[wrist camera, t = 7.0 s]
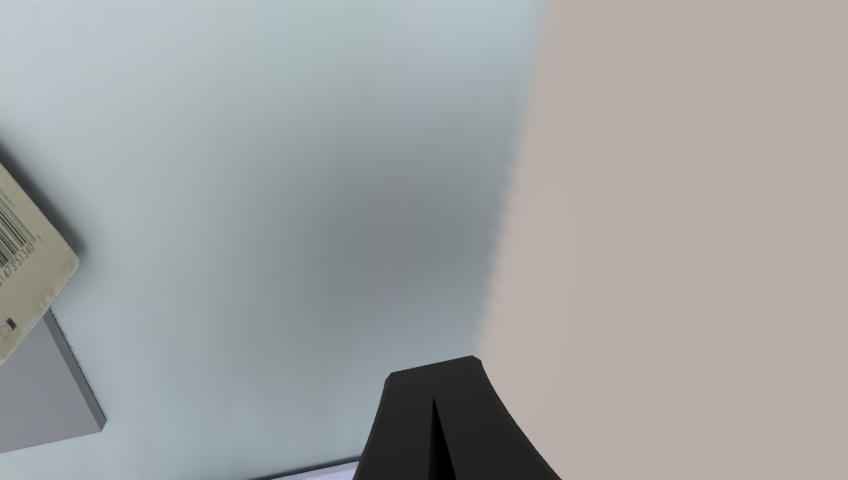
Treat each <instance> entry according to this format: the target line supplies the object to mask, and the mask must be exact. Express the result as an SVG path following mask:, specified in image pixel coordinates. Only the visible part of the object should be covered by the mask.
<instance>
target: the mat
mask: <svg viewBox="0 0 848 480" xmlns="http://www.w3.org/2000/svg"><path fill="white" fill-rule="evenodd" d="M105 423H106V419H105V417H104V415H103V413H102V411H101V409H100V408H99V406H98V404H97V402H96V400H95V398H94V396H93V394H92V392H91V390H90V388H89V386H88V384H87V382H86V380H85V378H84V376H83V374H82V372H81V370H80V368H79V366H78V364H77V362H76V360H75V358H74V356H73V355H72V353H71V351H70V349H69V347H68V345H67V343H66V341H65V339H64V337H63V335H62V333H61V331H60V329H59V327H58V325H57V323H56V321H55V319H54V317H53V315H52V313H51V311H50V309H48V310H47V311H46V313H45V314H44V315H43V317H42V318H41V319H40V320H39V322H38V323H37V324H36V326H35V327H34V328H33V329H32V331H31V332H30V333H29V334H28V336H27V337H26V338H25V340H24V341H23V342H22V343H21V344H20V346H19V347H18V348H17V349H16V351H15V352H14V353H13V354H12V355H11V356H10V358H9V359H8V360H7V361H6V362H5V363H4V364H3V365H1V366H0V453H4V452H9V451H14V450H18V449H23V448H27V447H32V446H37V445H41V444H46V443H51V442H55V441H60V440H65V439H69V438H74V437H79V436H83V435H88V434H93V433H97V432H101V431H102V429H103V427H104V425H105Z"/></svg>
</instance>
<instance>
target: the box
mask: <svg viewBox="0 0 848 480" xmlns="http://www.w3.org/2000/svg"><path fill="white" fill-rule="evenodd" d="M78 266H79V259H78V257H77V256H76V254H75V253H74V252H73V251H72V249H71V248H70V247H69V245H68V244H67V243H66V241H65V240H64V239H63V237H62V236H61V235H60V234H59V232H58V231H57V230H56V229H55V228H54V227H53V225H52V224H51V223H50V222H49V221H48V220H47V218H46V217H45V216H44V214H43V213H42V212H41V211H40V210H39V208H38V207H37V206H36V205H35V204H34V202H33V201H32V200H31V199H30V198H29V196H28V195H27V194H26V193H25V192H24V190H23V189H22V188H21V187H20V185H19V184H18V183H17V182H16V181H15V179H14V178H13V177H12V176H11V175H10V173H9V172H8V171H7V170H6V169H5V168H4V166H3V165H2V164H1V163H0V366H1V365H3V364H4V363H5V362H6V361H7V360H8V359H9V358H10V356H11V355H12V354H13V353H14V352H15V351H16V349H17V348H18V347H19V346H20V344H21V343H22V342H23V341H24V340H25V338H26V337H27V336H28V334H29V333H30V332H31V331H32V329H33V328H34V327H35V326H36V324H37V323H38V322H39V320H40V319H41V318H42V317H43V315H44V314H45V313H46V311H47V310H48V309H49V308H50V306H51V305H52V304H53V302H54V301H55V299H56V298H57V297H58V295H59V294H60V292H61V291H62V290H63V289H64V287H65V286H66V285H67V283H68V282H69V280H70V278H71V277H72V276H73V274H74V273H75V271H76V270H77V268H78Z"/></svg>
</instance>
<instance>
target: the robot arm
mask: <svg viewBox="0 0 848 480" xmlns="http://www.w3.org/2000/svg"><path fill="white" fill-rule="evenodd" d="M272 480H561V478H560V477H559V476H558V475H557V474H556V473H555V472H554V470H553V469H552V468H551V467H550V466H549V465H548V463H547V462H546V461H545V460H544V459H543V457H542V456H541V455H540V454H539V452H538V451H537V450H536V449H535V447H534V446H533V445H532V443H531V442H530V441H529V439H528V438H527V437H526V435H525V434H524V433H523V432H522V430H521V429H520V428H519V426H518V425H517V424H516V422H515V421H514V419H513V418H512V417H511V415H510V414H509V413H508V411H507V409H506V408H505V406H504V404H503V403H502V401H501V400H500V398H499V397H498V395H497V393H496V392H495V390H494V388H493V386H492V385H491V383H490V381H489V379H488V377H487V375H486V373H485V370H484V368H483V366H482V362H481V360H480V359H478V358H476V357H474V356H473V355H471V356H466V357H462V358H457V359H452V360H448V361H443V362H439V363H434V364H429V365H425V366H420V367H416V368H411V369H406V370H402V371H397V372H392V373H391V374H390V375H389V376H388V378H387V379H386V380H385V384H384V389H383V393H382V397H381V400H380V404H379V407H378V411H377V414H376V417H375V420H374V423H373V426H372V429H371V432H370V435H369V438H368V440H367V443H366V446H365V448H364V451H363V453H362V456H361V459H360V461H357V462H352V463H348V464H343V465H338V466H333V467H329V468H324V469H319V470H315V471H310V472H305V473H300V474H296V475H291V476H286V477H282V478H277V479H272Z"/></svg>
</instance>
